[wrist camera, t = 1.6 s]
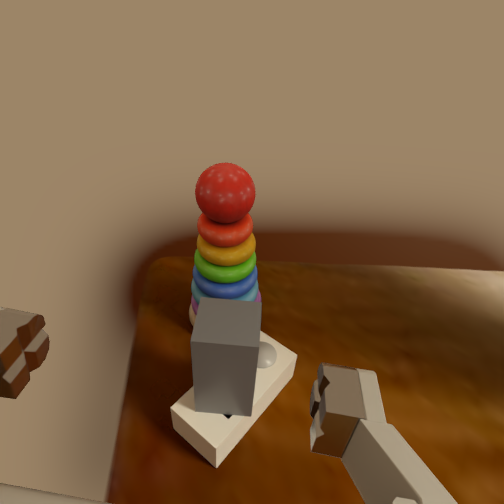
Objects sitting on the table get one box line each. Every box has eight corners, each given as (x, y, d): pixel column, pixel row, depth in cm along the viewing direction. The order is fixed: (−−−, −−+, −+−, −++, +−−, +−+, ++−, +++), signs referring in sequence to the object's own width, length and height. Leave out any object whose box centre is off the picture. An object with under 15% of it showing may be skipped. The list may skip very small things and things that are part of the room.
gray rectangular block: (249, 429, 32) (259, 347, 25) (196, 425, 32) (190, 341, 25) (252, 386, 35) (261, 302, 28) (203, 382, 35) (200, 296, 28)
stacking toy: (190, 292, 45) (181, 143, 34) (257, 291, 46) (271, 145, 34) (187, 347, 39) (175, 188, 28) (264, 345, 40) (284, 189, 28)
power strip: (252, 348, 40) (255, 325, 37) (292, 376, 37) (297, 353, 35) (173, 428, 33) (170, 406, 30) (216, 468, 30) (216, 447, 28)
